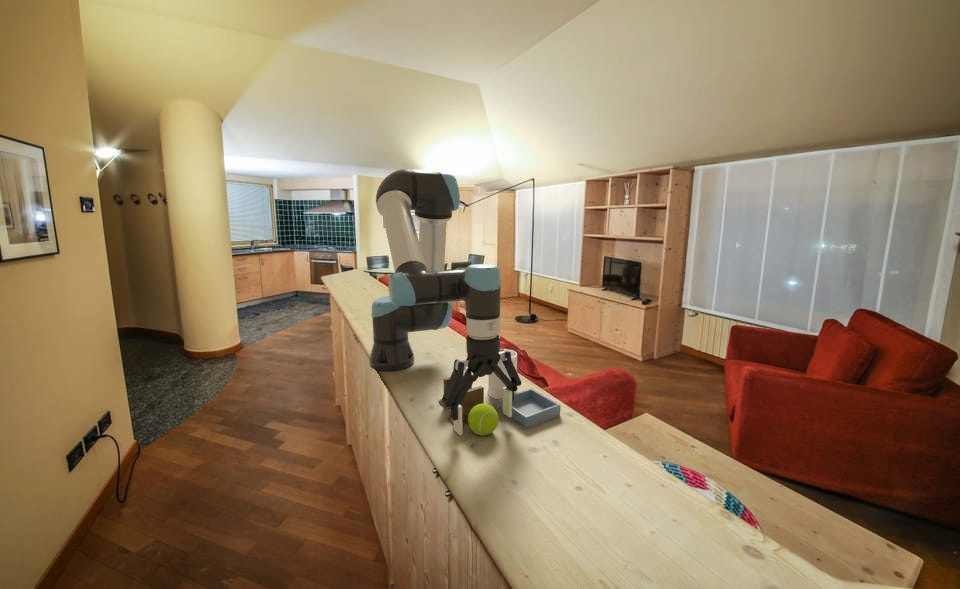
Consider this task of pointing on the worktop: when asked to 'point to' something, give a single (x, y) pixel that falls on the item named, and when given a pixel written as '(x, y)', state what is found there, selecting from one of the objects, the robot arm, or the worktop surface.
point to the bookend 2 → (470, 402)
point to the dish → (532, 408)
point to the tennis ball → (483, 419)
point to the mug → (495, 383)
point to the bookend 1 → (446, 386)
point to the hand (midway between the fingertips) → (483, 423)
